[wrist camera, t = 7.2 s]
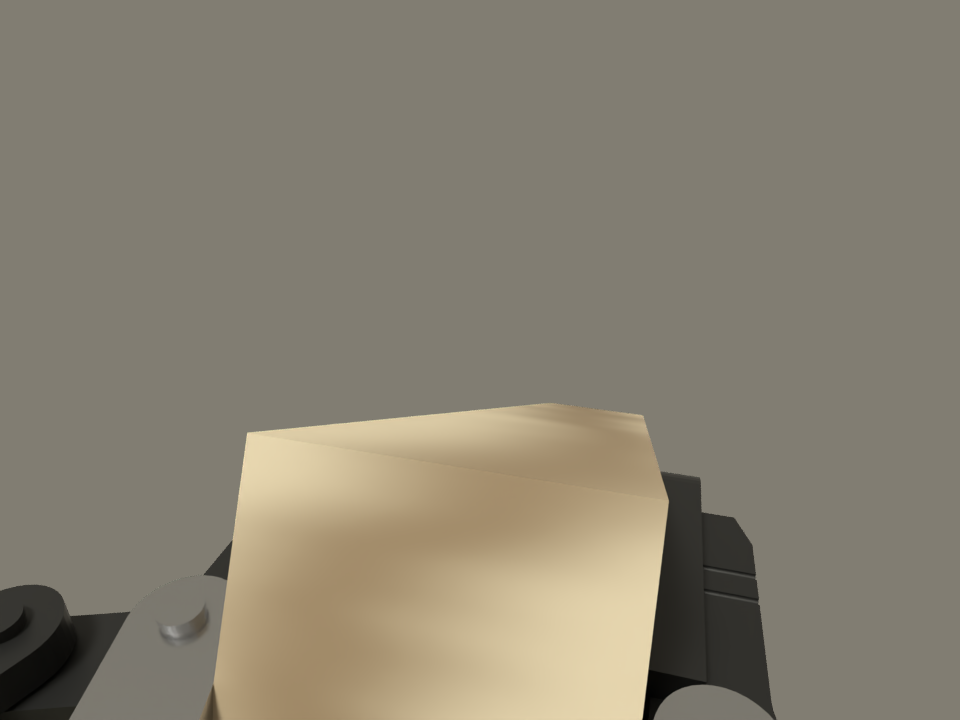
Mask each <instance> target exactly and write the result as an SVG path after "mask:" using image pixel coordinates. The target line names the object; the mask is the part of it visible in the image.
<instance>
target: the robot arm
mask: <svg viewBox="0 0 960 720" xmlns="http://www.w3.org/2000/svg"><path fill="white" fill-rule="evenodd" d="M660 473H661V476H662V480H663V483H664V486H665V490H666V493H667V496H668V499H669V504H668V512H667V521H666V529H665V537H664V545H663V554H662V562H661V570H660V578H659V586H658V595H657V603H656V611H655V619H654V627H653V636H652V644H651V652H650V660H649V668H648V677H647V685H646V693H645V701H644V710H643V718H642V720H776V717H775V714H774V712H773V708H772V703H771V696H770V688H769V679H768V671H767V663H766V655H765V646H764V639H763V630H762V622H761V613H760V606H759V605H758V600H759V597H758V589H757V581H756V580H755V575H756V572H755V564H754V556H753V547H752V544H751V543H750V541H749V539H748V538H747V537H746V535H745V534H744V532H743V530H742V529H741V527H740V526H739V524H738V523H737V521H736V520H735V519H734V518H733V517H726V516H720V515H714V514H708V513H702V512H701V482H700V478H699V477H693V476H686V475H680V474H674V473H667V472H660ZM232 543H233V540H232V541H231V543H230V544H229V545H228V546H227V547H226V549H225V550H224V551H223V552H222V553H221V555H220V556H219V557H218V558H217V560H216V561H215V562H214V563H213V564H212V565H211V567H210V568H209V569H208V570H207V571H206V573H205V574H204V575H200V576H190V577H185V578H181V579H178V580H175V581H172V582H170V583H167V584H165V585H163V586H161V587H159V588H157V589H155V590H154V591H152V592H151V593H150V594H148V595H147V596H145V597H144V598H143V599H142V600H141V601H140V602H139V603H138V604H137V605H136V606H135V607H134V608H133V609H132V611H131V612H125V613H110V614H97V615H96V614H95V615H81V616H70V615H69V613H68V610H67V608H66V605H65V603H64V600H63V598H62V596H61V595H60V594H59V593H58V592H57V591H55V590H54V589H52V588H50V587H47V586H41V585H23V586H16V587H13V588H9V589H5V590H2V591H0V720H213V683H214V676H215V669H216V661H217V654H218V646H219V639H220V632H221V624H222V617H223V609H224V602H225V595H226V587H227V580H228V572H229V565H230V558H231V550H232Z"/></svg>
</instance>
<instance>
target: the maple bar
mask: <svg viewBox="0 0 960 720" xmlns="http://www.w3.org/2000/svg"><path fill="white" fill-rule="evenodd" d="M668 504H669V499H668V496H667V493H666V490H665V486H664V483H663V480H662V476H661V473H660V470H659V467H658V463H657V460H656V457H655V453H654V450H653V447H652V444H651V440H650V437H649V434H648V431H647V427H646V424H645V421H644V417H643V415H636V414H629V413H621V412H614V411H606V410H599V409H592V408H584V407H577V406H569V405H562V404H555V403H545V404H535V405H525V406H515V407H504V408H494V409H484V410H473V411H463V412H454V413H444V414H433V415H423V416H412V417H403V418H392V419H382V420H372V421H363V422H352V423H342V424H331V425H323V426H322V425H321V426H311V427H301V428H291V429H281V430H271V431H261V432H250V433H247V439H246V447H245V454H244V461H243V470H242V477H241V483H240V491H239V498H238V506H237V514H236V521H235V528H234V535H233V543H232V550H231V558H230V565H229V572H228V580H227V587H226V595H225V602H224V609H223V617H222V624H221V632H220V639H219V646H218V654H217V661H216V669H215V676H214V683H213V720H642V718H643V710H644V701H645V693H646V685H647V677H648V668H649V660H650V652H651V644H652V636H653V627H654V619H655V611H656V603H657V595H658V586H659V578H660V570H661V562H662V554H663V545H664V537H665V529H666V521H667V512H668Z"/></svg>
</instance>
